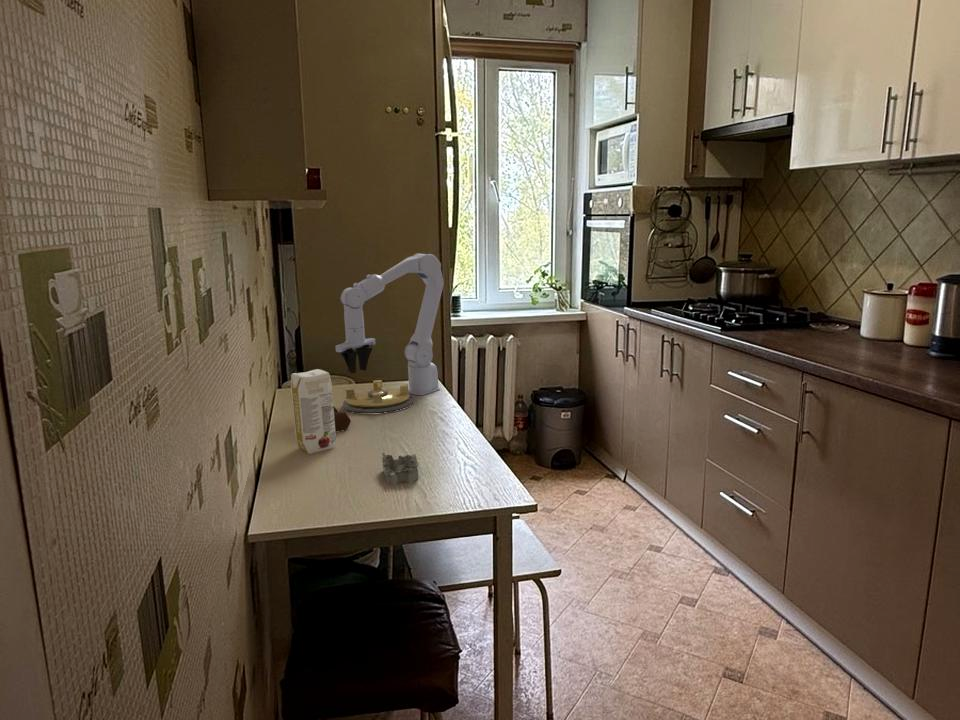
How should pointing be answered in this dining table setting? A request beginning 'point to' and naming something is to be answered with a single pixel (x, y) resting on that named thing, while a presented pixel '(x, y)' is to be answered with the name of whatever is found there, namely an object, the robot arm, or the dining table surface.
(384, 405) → the round tray
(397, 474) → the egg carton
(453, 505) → the dining table surface
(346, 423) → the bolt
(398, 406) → the grey plate
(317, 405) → the juice carton
